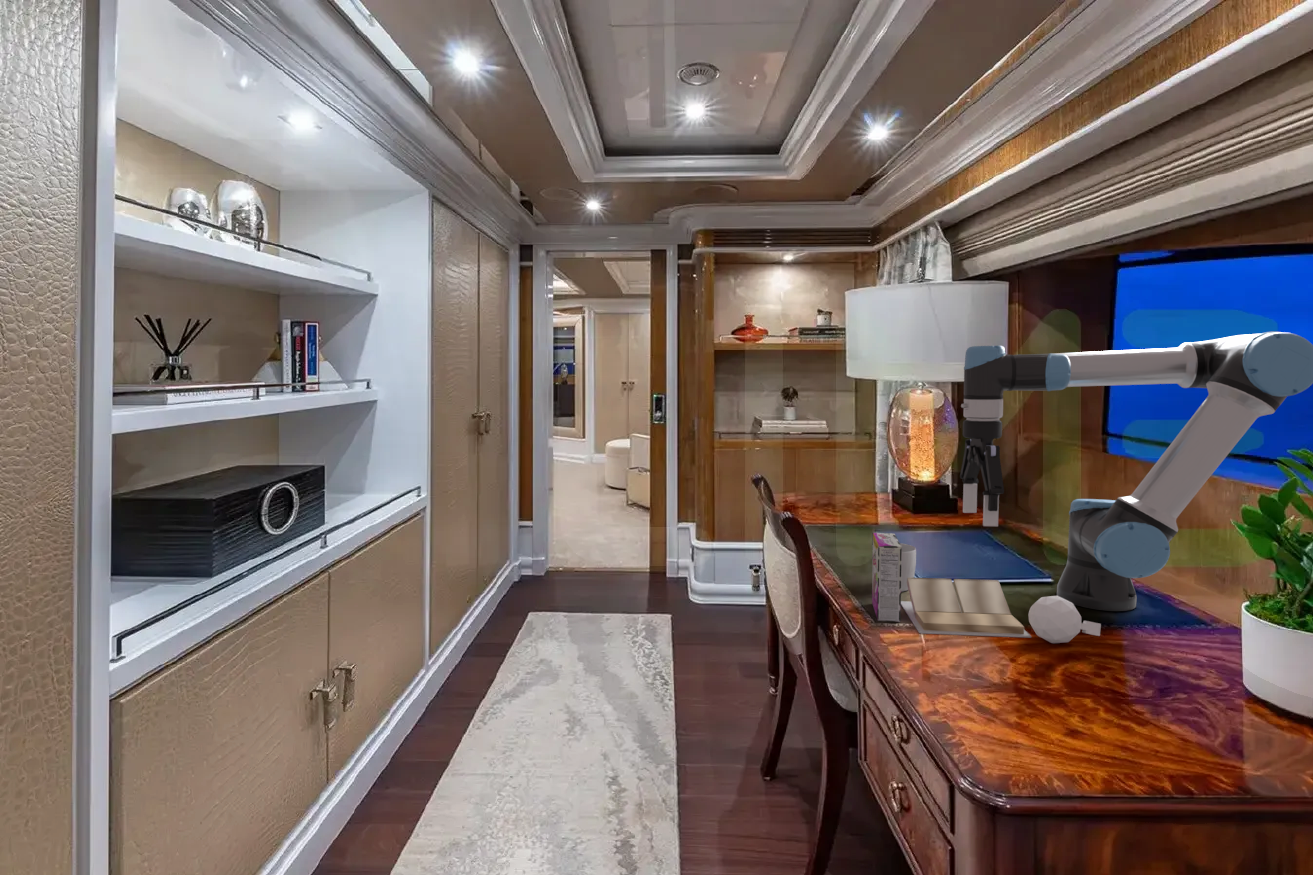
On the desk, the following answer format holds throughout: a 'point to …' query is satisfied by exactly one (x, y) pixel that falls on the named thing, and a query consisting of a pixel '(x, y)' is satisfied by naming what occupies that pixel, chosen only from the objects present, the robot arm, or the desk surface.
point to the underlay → (909, 610)
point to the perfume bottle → (1058, 620)
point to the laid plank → (969, 622)
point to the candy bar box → (886, 577)
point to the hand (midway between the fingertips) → (979, 519)
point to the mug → (907, 564)
